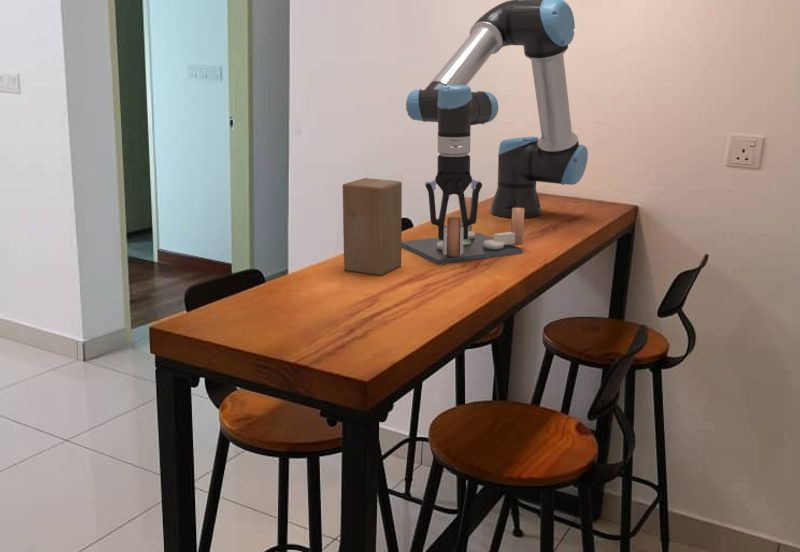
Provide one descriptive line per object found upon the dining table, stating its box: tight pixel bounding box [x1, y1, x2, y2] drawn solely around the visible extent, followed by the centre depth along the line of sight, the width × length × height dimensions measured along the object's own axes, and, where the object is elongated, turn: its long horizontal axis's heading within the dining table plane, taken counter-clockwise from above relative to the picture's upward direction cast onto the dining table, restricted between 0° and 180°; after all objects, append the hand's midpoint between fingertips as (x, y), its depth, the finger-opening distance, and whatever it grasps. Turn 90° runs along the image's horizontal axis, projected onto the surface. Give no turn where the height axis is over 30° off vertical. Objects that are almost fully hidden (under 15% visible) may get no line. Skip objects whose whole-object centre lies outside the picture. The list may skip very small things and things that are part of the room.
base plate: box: [401, 232, 524, 266], centre depth 201 cm, size 24×20×2 cm
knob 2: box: [460, 196, 476, 239], centre depth 210 cm, size 11×5×9 cm, turn 173°
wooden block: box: [342, 177, 403, 276], centre depth 182 cm, size 10×10×20 cm
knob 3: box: [483, 208, 525, 249], centre depth 198 cm, size 11×5×9 cm, turn 117°
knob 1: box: [437, 216, 461, 257], centre depth 193 cm, size 11×5×9 cm, turn 9°
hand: (452, 252), depth 190 cm, fingers open, 3 cm apart
